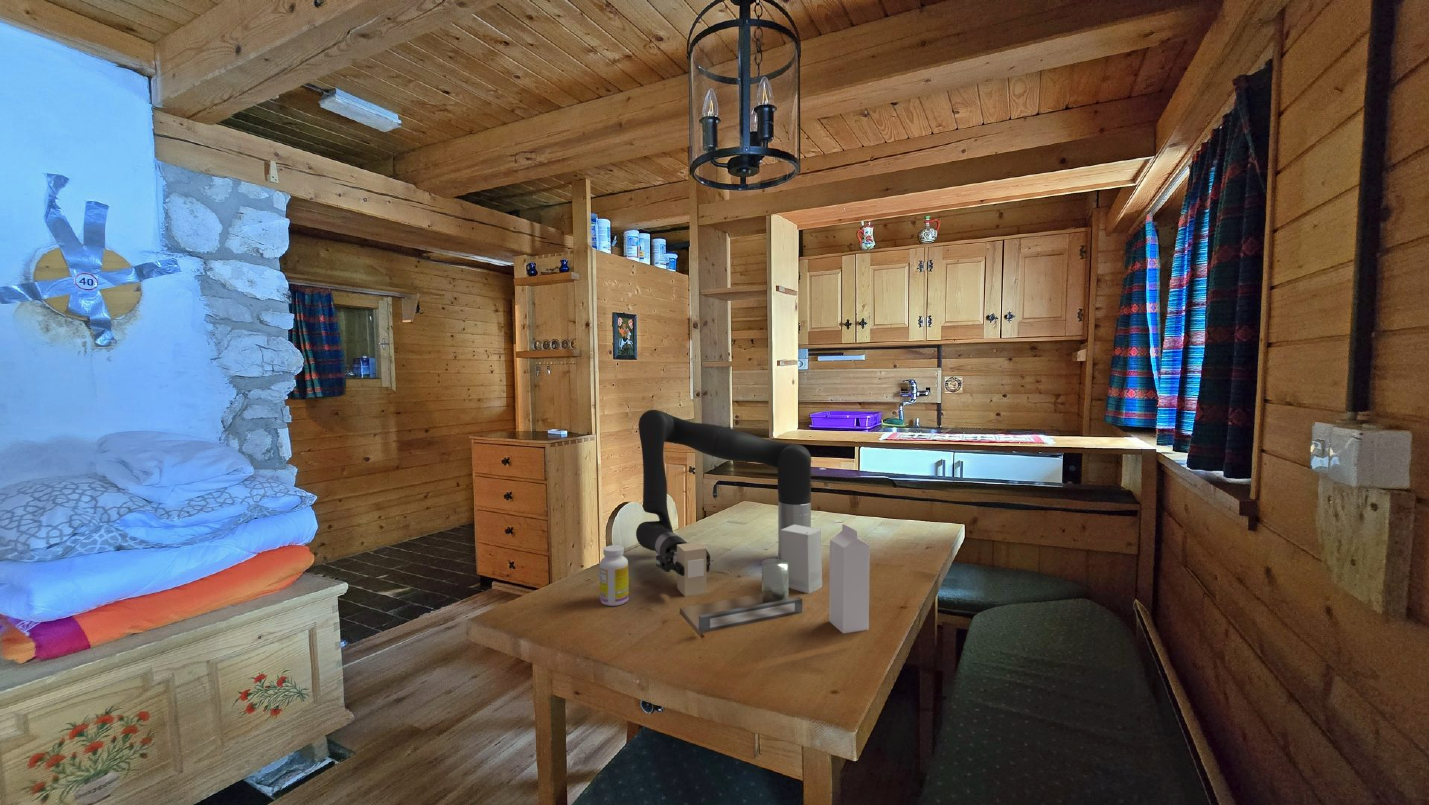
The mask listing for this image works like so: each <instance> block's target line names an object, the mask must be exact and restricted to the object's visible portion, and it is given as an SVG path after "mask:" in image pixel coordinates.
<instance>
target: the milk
mask: <svg viewBox="0 0 1429 805" xmlns="http://www.w3.org/2000/svg"><path fill="white" fill-rule="evenodd" d="M841 528H842V529H841V531H840V532H838V533H837V534H835V535H834V536H833V537H832V538H830V539H829V614H828V615H829V616H828V617H829V618H828V619H829V623H830V624H832V625H833V626H834V627H835V628H836V629H837V630H839V632H841V633H842V634H849V633H855V632H863V631H868V630H870V629H869V626H870V559H871V558H870V551H871V550H870V547H871V546H870V544H868V543H867V542H865V541H863V540H862V539H860V538H859V537H858V530H856V529H855V528H852V527H850V526H849V525H846V524H845V523H842V527H841Z"/></svg>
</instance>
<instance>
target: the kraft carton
mask: <svg viewBox="0 0 1429 805" xmlns="http://www.w3.org/2000/svg"><path fill="white" fill-rule="evenodd" d="M706 550H707V547H705V546H704V545H703V544H701V543H700V542H699V541H695V542H687V543H686V544H678V545H677V560H678V562H680V563H681V564H682V565H683V566H684V572H685V575H684V576H681V575H680V574H677V573H676V578H677V579H676V580H677V584H676V586H677V587H676V588H677V590H678V591H679V592H680V594H682V595H683V596H684V597H691V596H696V595H697V596H698V595H702V594H707V592H708V591H707V586H708V585H707V572H706Z"/></svg>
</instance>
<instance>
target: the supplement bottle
mask: <svg viewBox="0 0 1429 805" xmlns="http://www.w3.org/2000/svg"><path fill="white" fill-rule="evenodd" d="M624 549H625V548H624V546H623V545H618V544H615V545H613V544H611V545H608V546H605V547H603V555H604V557H603V558H601V560H600V562H599V597H600V602H601V604H602V605H605V606H607V607H608V606H609V607H610V606H611V607H613V606H614V607H615V606H622V605H624V604H626V603H627V602H628V601H629V598H630V597H629V594H630V589H629V560H628V559H627V557H626V556H624V552H625V551H624Z"/></svg>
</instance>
